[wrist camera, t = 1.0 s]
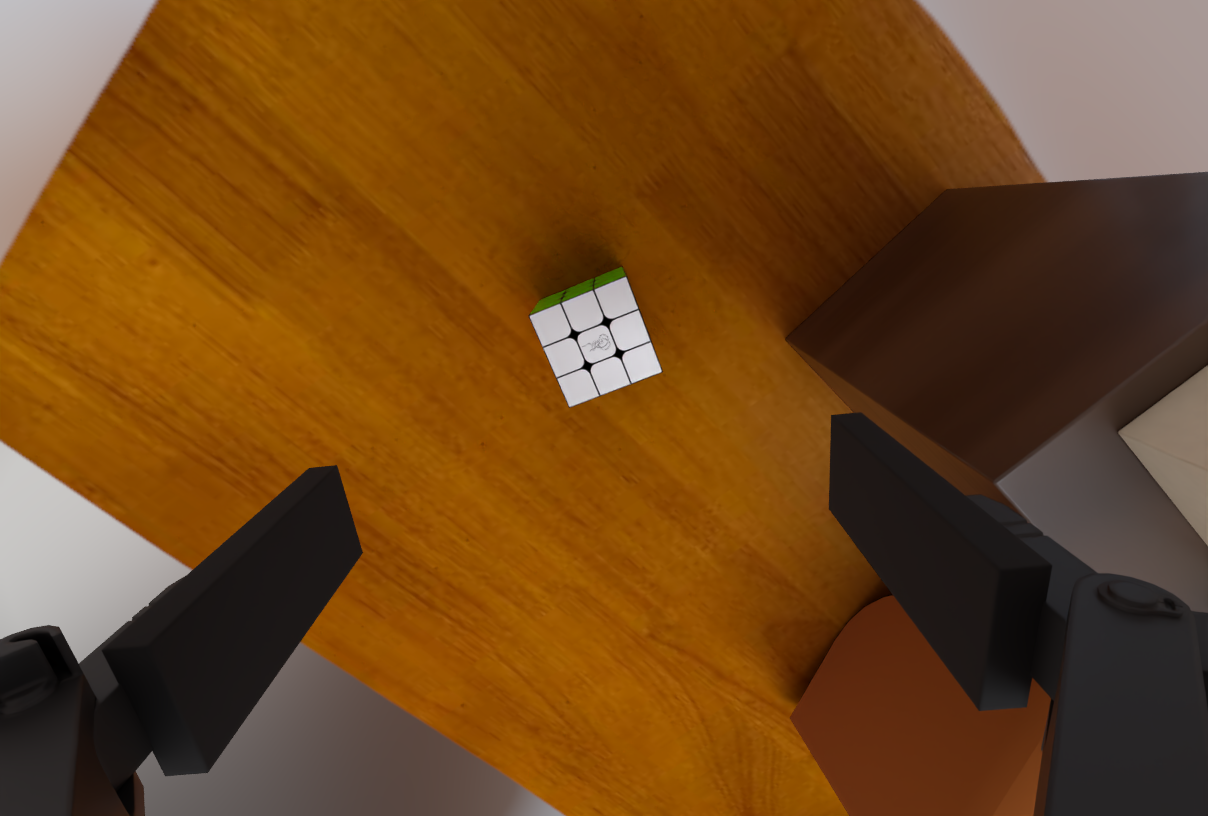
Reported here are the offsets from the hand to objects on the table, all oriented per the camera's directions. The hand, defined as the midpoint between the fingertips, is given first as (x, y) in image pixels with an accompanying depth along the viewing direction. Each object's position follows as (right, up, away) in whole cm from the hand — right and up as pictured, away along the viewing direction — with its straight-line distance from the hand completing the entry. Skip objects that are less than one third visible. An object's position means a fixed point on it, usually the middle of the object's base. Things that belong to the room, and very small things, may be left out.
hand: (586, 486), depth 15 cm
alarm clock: (+18, -22, +17) cm, 33 cm away
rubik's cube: (0, +7, +17) cm, 18 cm away
